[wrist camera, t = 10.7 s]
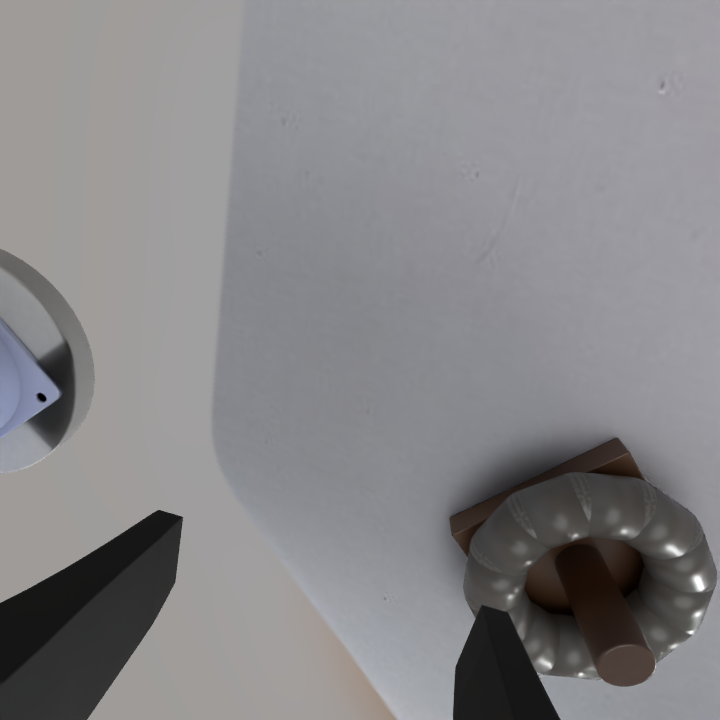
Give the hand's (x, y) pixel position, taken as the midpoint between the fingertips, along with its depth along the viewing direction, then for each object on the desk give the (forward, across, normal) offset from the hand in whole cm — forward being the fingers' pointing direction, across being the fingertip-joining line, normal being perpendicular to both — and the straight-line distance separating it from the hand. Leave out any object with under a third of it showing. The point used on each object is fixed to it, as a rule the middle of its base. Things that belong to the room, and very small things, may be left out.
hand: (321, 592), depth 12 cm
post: (+11, -10, +5) cm, 16 cm away
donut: (+9, -10, +4) cm, 14 cm away
